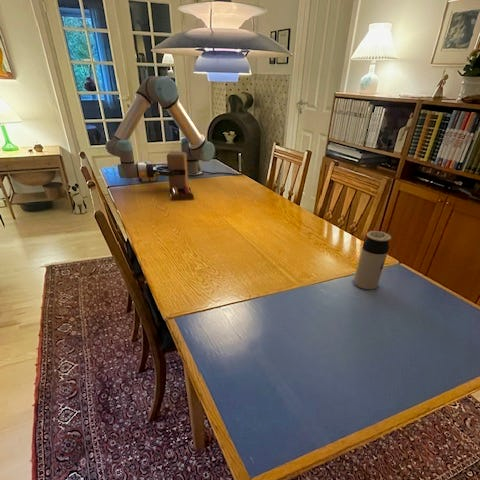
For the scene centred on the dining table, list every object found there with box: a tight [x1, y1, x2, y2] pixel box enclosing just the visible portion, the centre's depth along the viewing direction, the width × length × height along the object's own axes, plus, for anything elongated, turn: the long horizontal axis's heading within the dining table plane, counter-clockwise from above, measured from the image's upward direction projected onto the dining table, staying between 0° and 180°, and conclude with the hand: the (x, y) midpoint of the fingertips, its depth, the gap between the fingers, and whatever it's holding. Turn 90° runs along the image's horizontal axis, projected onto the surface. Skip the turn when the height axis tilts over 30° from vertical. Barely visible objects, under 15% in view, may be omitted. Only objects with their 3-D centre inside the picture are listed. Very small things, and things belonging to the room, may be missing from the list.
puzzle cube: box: [136, 160, 158, 183], centre depth 220 cm, size 10×10×10 cm
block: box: [166, 151, 189, 190], centre depth 201 cm, size 10×10×20 cm
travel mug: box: [353, 230, 392, 290], centre depth 114 cm, size 8×8×18 cm
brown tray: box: [169, 185, 194, 201], centre depth 195 cm, size 12×14×4 cm
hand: (184, 169), depth 201 cm, fingers closed on block, 12 cm apart
